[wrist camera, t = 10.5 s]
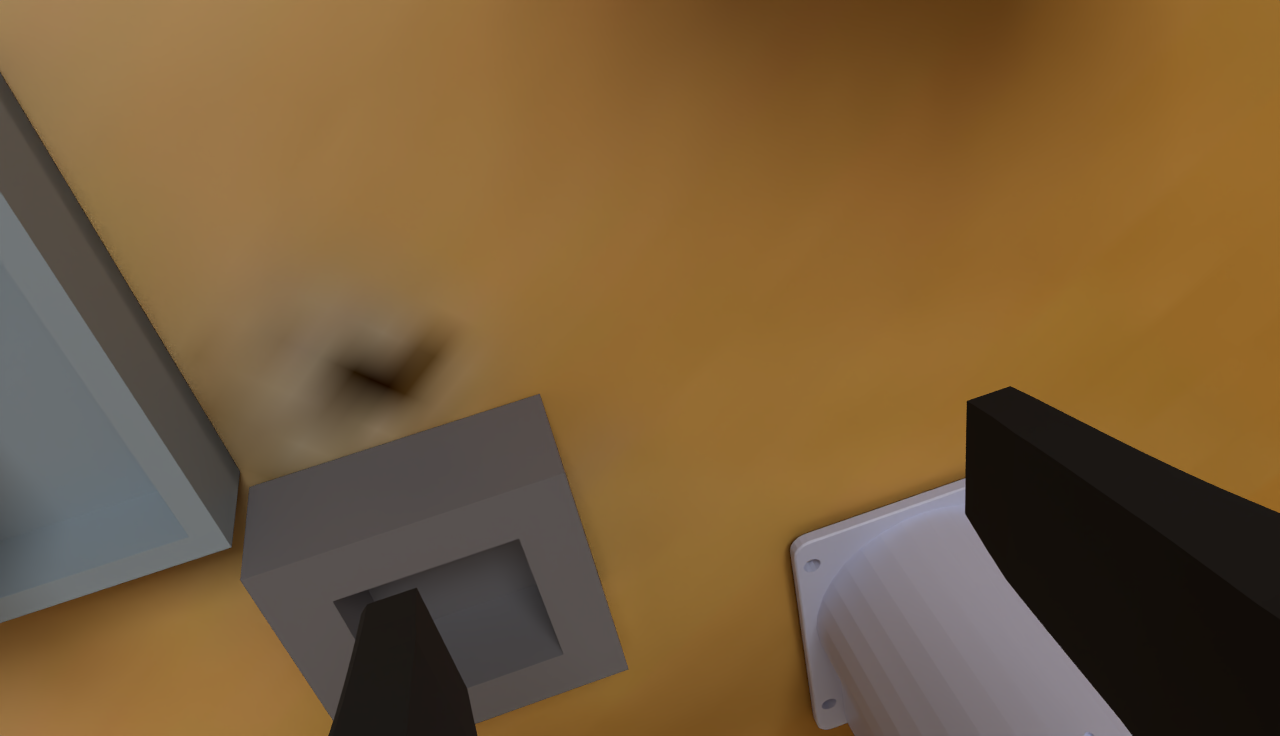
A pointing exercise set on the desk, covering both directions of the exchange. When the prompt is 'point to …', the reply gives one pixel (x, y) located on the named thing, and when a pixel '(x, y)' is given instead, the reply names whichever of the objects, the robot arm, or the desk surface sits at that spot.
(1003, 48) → the desk surface
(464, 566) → the grey square holder
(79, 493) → the parts tray
